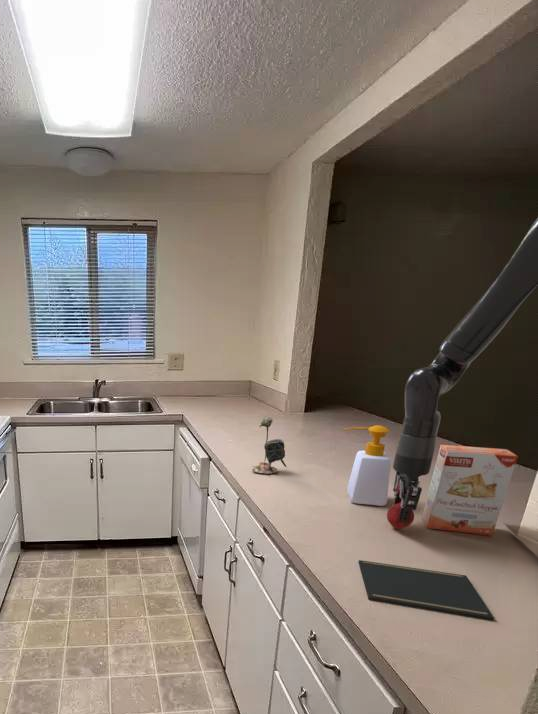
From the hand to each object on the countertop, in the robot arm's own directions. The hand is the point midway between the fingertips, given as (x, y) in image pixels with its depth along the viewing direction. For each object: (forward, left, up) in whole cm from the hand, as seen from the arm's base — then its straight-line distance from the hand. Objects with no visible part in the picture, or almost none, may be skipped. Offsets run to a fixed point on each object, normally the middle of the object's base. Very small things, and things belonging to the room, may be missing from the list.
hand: (400, 516), depth 108 cm
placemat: (+1, +27, -4) cm, 27 cm away
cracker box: (-14, -5, -4) cm, 15 cm away
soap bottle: (+7, -18, -4) cm, 20 cm away
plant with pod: (+33, -35, -4) cm, 48 cm away
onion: (0, 0, -4) cm, 4 cm away
